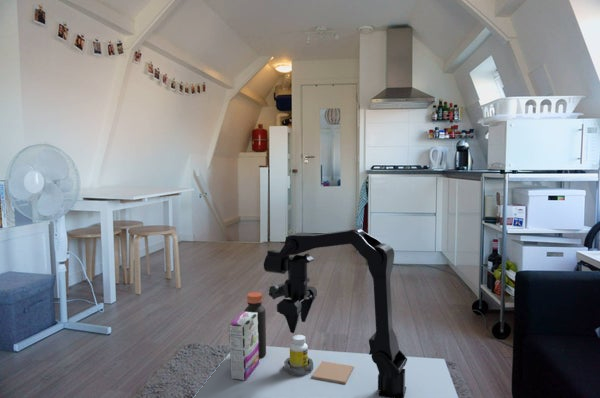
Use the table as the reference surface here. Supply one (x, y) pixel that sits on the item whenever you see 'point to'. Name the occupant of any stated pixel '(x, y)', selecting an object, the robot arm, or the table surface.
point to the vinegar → (255, 306)
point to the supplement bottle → (298, 352)
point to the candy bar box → (244, 345)
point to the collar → (299, 370)
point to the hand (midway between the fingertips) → (298, 327)
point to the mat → (333, 372)
